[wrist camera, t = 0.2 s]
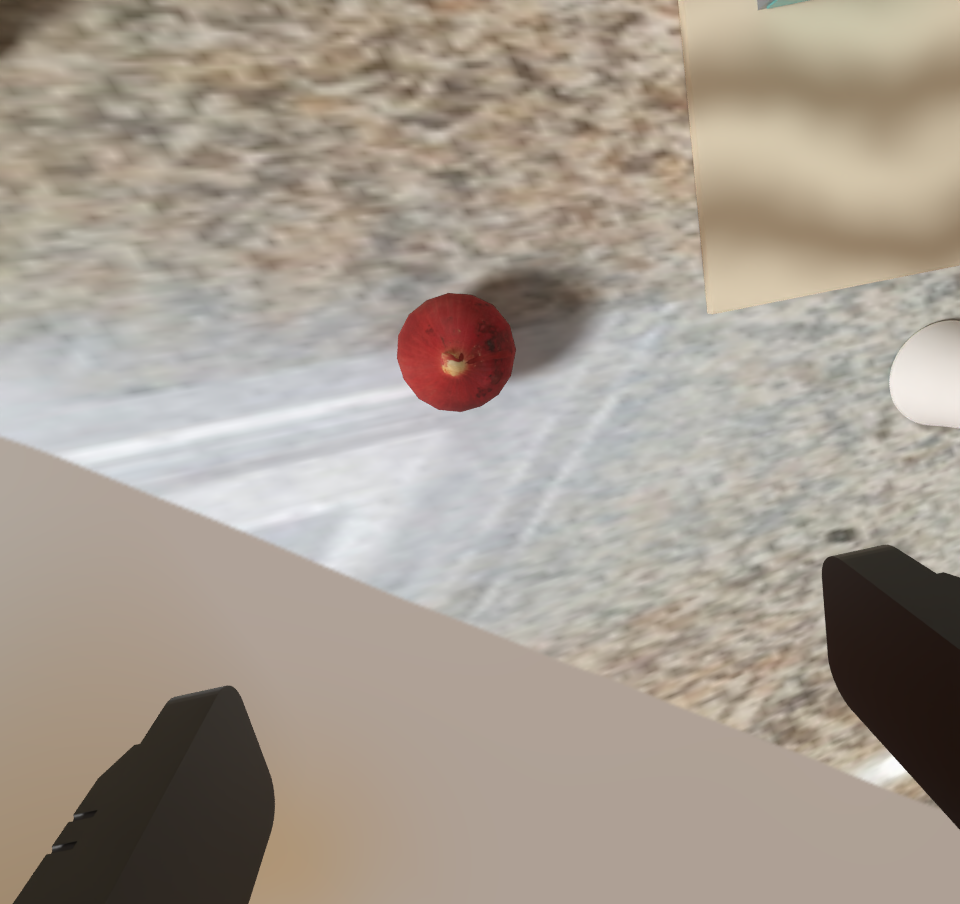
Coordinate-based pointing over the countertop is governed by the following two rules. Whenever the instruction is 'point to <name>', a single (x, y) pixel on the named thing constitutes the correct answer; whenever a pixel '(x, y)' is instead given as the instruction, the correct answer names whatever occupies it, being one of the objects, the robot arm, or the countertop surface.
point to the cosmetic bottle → (929, 376)
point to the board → (822, 143)
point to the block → (775, 3)
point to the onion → (456, 352)
